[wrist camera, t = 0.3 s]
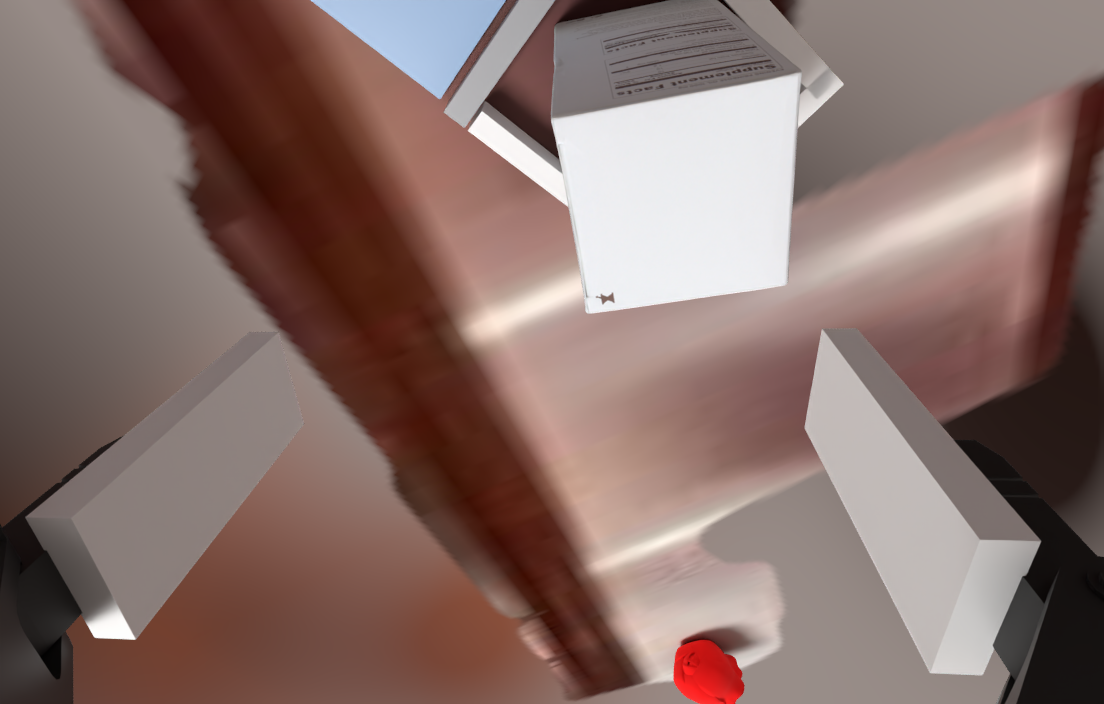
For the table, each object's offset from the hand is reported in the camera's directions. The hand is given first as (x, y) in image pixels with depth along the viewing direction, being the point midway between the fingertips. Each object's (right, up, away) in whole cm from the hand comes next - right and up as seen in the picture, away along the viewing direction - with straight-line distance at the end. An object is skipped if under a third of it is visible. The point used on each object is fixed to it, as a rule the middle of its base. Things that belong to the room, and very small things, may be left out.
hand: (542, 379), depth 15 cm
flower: (+21, -40, +69) cm, 83 cm away
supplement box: (+6, +17, +23) cm, 29 cm away
